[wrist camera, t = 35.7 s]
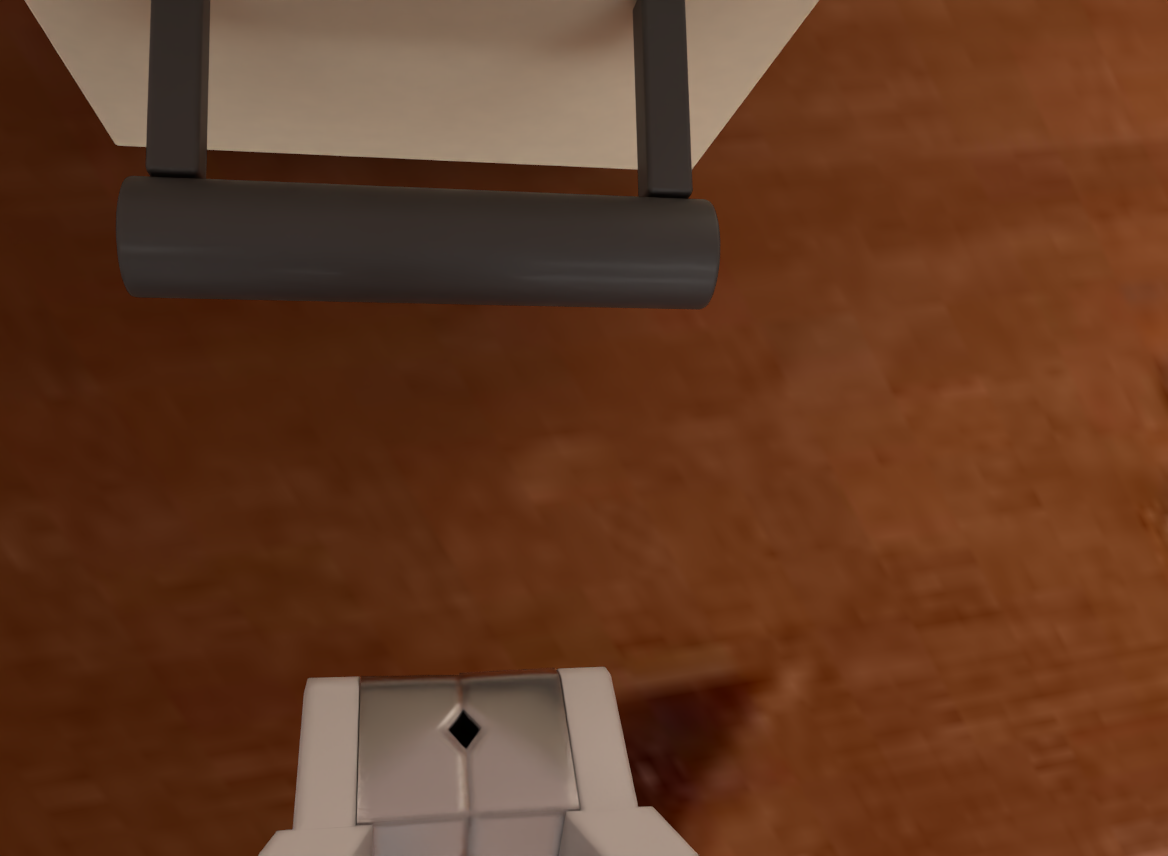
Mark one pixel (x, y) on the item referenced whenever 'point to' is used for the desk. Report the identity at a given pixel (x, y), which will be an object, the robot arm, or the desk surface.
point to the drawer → (419, 141)
